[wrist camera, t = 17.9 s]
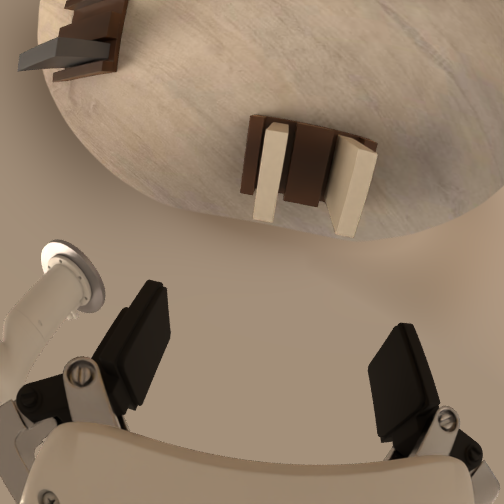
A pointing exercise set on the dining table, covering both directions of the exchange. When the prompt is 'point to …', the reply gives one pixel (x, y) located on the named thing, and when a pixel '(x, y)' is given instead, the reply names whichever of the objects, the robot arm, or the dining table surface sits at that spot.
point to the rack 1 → (94, 34)
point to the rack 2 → (295, 158)
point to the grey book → (63, 54)
